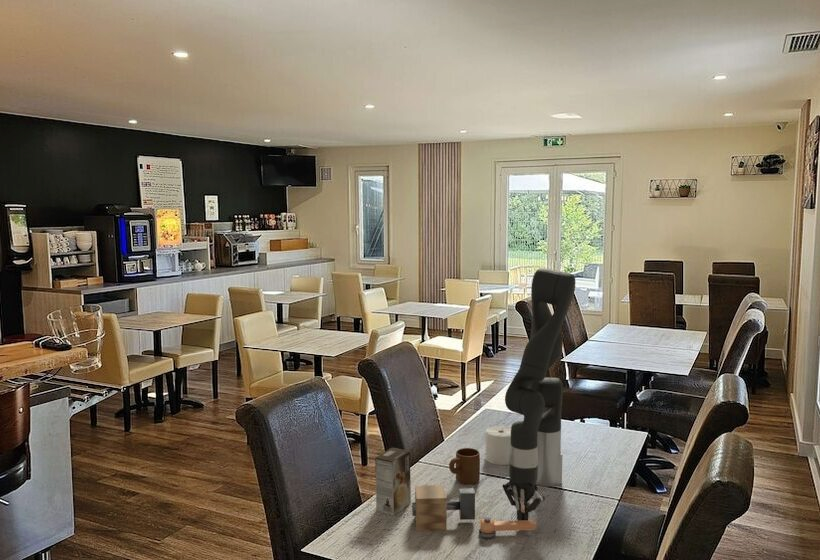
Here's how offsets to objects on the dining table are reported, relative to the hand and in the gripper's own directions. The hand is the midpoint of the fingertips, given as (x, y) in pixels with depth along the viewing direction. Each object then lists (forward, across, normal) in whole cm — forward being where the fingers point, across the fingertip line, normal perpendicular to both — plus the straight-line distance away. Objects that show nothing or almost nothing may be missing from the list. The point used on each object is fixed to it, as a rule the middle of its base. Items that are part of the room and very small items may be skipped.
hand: (522, 523), depth 170 cm
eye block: (+1, -19, -16) cm, 25 cm away
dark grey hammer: (0, -16, -14) cm, 21 cm away
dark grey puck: (+1, -4, -10) cm, 11 cm away
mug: (+2, -30, +9) cm, 32 cm away
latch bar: (0, -1, -5) cm, 5 cm away
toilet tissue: (+2, -34, +33) cm, 47 cm away
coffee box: (+2, -33, -18) cm, 37 cm away
